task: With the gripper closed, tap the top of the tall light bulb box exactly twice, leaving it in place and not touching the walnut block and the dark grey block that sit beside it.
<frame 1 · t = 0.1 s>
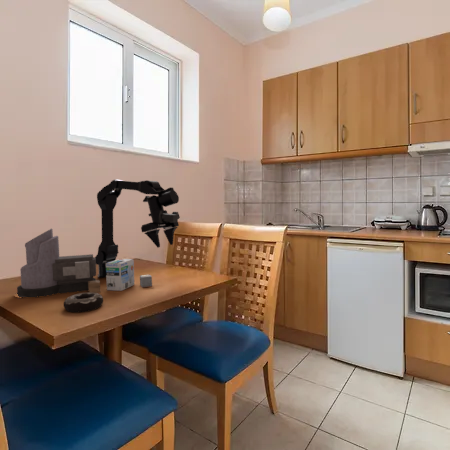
hand: (165, 246, 134), 15 cm above the table, tool pointing down, fingers open, 9 cm apart
donut: (84, 308, 103), on the table
grey boxy piece: (58, 290, 126), on the table
light bulb box: (121, 287, 128), on the table
grey marked block: (146, 285, 130), on the table
walnut marked block: (94, 292, 122), on the table
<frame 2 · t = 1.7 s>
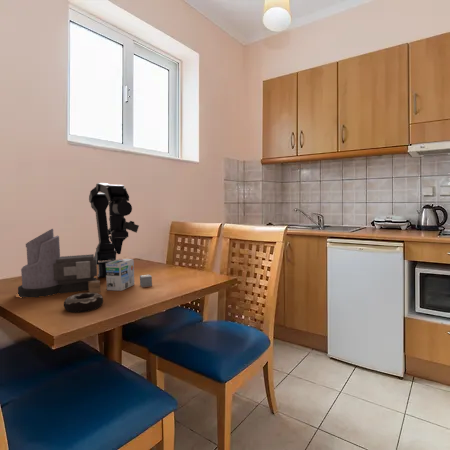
hand: (118, 253, 132), 13 cm above the table, tool pointing down, fingers open, 4 cm apart
nothing on the table moved.
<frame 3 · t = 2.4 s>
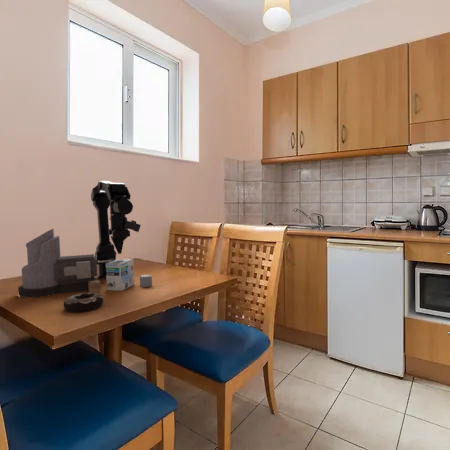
hand: (119, 253, 128), 13 cm above the table, tool pointing down, fingers closed
nothing on the table moved.
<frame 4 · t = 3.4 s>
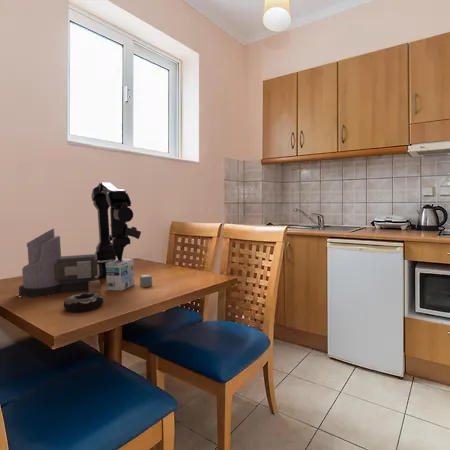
hand: (119, 260, 128), 11 cm above the table, tool pointing down, fingers closed, pressing on light bulb box
light bulb box: (121, 287, 128), on the table, touching gripper
everything else where it was.
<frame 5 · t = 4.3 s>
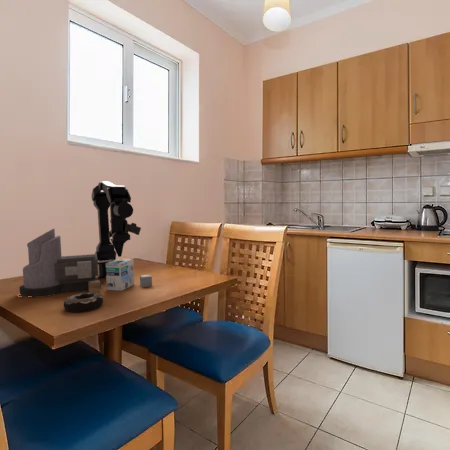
hand: (119, 256, 128), 12 cm above the table, tool pointing down, fingers closed
light bulb box: (121, 287, 128), on the table
everything else where it was.
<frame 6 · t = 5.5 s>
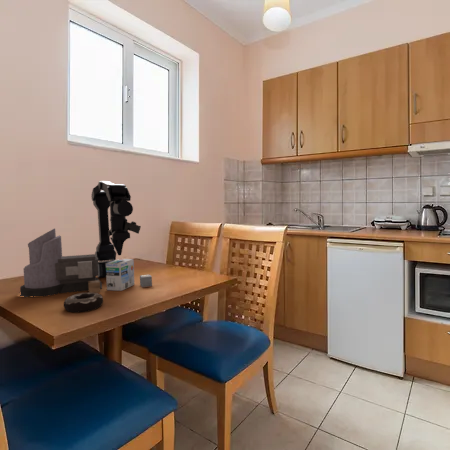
hand: (119, 255, 128), 13 cm above the table, tool pointing down, fingers closed
nothing on the table moved.
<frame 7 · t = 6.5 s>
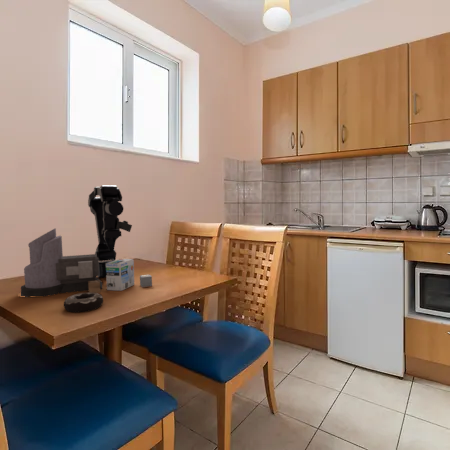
hand: (112, 252, 136), 13 cm above the table, tool pointing down, fingers closed
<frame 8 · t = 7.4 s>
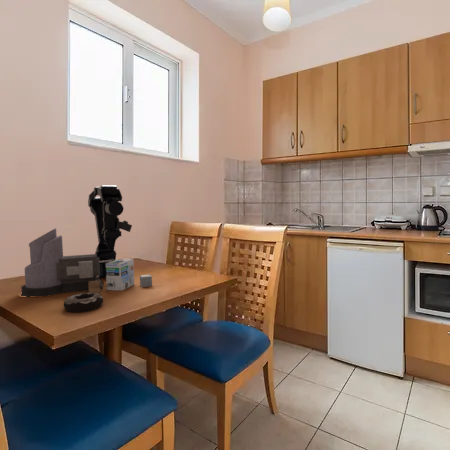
hand: (112, 252, 136), 13 cm above the table, tool pointing down, fingers closed
at the end: light bulb box moved 0.3 cm from its start; light bulb box tilted 0°; walnut marked block moved 0.1 cm from its start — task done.
